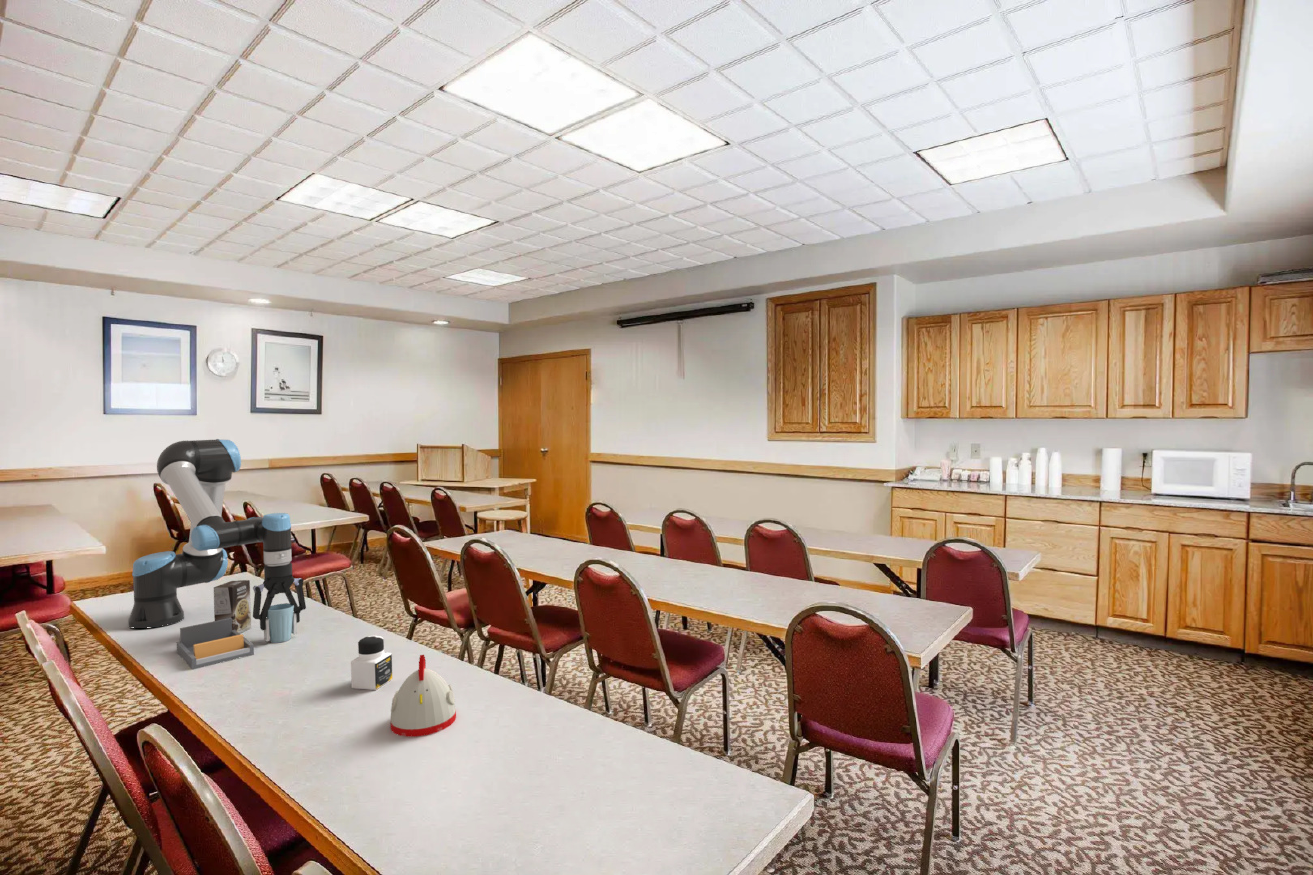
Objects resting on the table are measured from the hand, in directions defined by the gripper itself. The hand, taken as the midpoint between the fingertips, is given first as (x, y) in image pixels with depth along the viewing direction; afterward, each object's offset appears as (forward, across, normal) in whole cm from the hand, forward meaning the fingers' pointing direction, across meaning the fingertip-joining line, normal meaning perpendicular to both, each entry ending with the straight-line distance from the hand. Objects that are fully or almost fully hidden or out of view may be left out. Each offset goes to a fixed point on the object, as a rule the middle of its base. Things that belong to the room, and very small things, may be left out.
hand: (280, 636), depth 204 cm
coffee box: (+1, -8, +20) cm, 21 cm away
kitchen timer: (+1, +4, -86) cm, 86 cm away
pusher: (0, -17, -1) cm, 17 cm away
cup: (+1, 0, 0) cm, 1 cm away
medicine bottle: (+1, +5, -56) cm, 56 cm away
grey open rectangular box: (+1, -17, +2) cm, 17 cm away
